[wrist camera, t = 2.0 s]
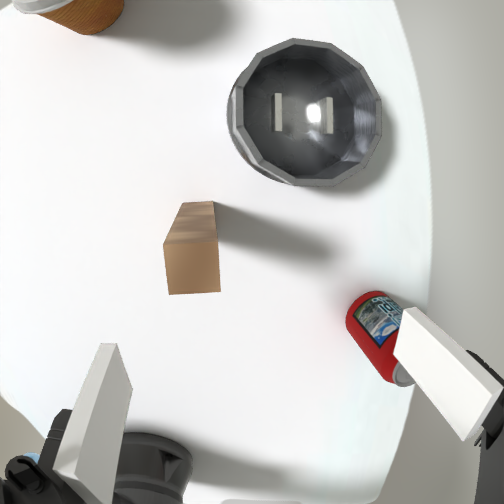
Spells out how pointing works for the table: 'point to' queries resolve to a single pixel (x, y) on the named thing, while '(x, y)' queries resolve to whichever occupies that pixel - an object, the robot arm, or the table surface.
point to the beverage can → (378, 334)
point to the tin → (304, 114)
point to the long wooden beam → (193, 250)
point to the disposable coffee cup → (75, 12)
